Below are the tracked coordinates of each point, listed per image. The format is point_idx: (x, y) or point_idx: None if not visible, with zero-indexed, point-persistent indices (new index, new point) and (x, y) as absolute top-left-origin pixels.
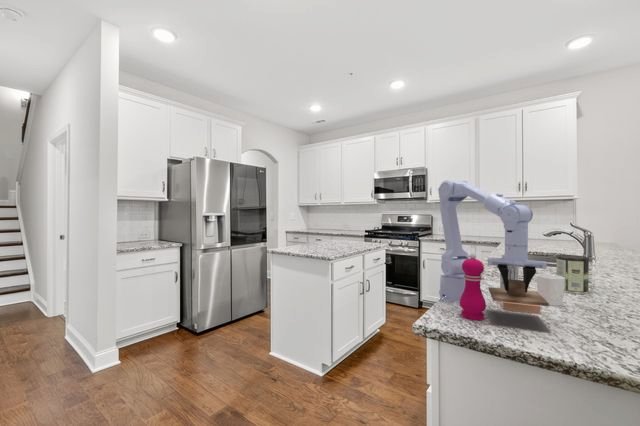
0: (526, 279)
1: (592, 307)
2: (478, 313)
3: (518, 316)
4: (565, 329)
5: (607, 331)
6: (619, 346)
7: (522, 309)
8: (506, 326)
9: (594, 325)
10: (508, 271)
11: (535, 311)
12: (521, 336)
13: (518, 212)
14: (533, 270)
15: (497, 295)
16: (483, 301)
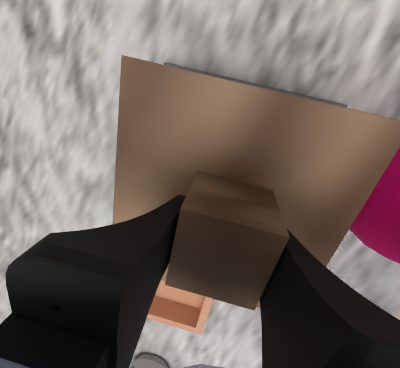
0: (160, 228)
1: (6, 286)
2: None
3: None
4: (107, 128)
5: (11, 134)
6: (9, 12)
7: None
8: (294, 95)
9: (29, 173)
10: (337, 311)
11: None
12: (275, 22)
13: None
14: (44, 252)
15: (344, 180)
16: (392, 179)
